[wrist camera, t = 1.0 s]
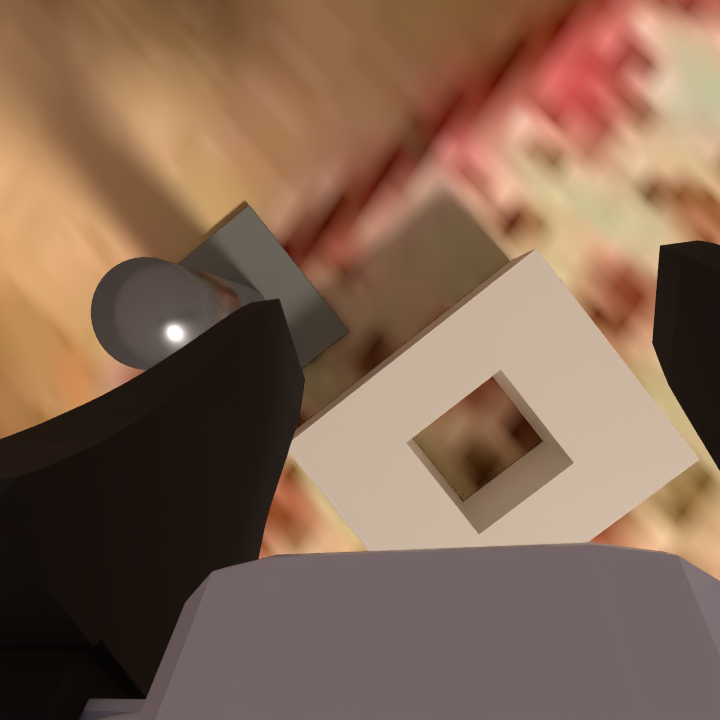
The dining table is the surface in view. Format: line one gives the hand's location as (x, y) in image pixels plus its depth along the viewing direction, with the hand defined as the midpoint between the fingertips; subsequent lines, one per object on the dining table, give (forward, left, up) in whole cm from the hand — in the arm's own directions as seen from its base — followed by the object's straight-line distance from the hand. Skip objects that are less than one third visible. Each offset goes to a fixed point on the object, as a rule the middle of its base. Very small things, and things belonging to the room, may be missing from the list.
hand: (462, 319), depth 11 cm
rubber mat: (-6, +5, -14) cm, 16 cm away
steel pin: (-6, +5, -14) cm, 16 cm away
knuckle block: (-1, -6, -14) cm, 15 cm away
